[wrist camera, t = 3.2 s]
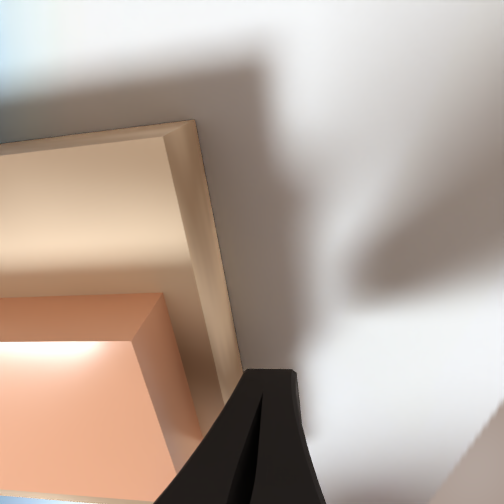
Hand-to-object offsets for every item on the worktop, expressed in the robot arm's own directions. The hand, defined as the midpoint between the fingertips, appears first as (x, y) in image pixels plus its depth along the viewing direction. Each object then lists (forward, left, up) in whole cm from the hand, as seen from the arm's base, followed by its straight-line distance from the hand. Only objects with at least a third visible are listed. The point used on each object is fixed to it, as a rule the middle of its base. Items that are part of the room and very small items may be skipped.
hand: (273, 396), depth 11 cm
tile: (0, +7, -1) cm, 7 cm away
